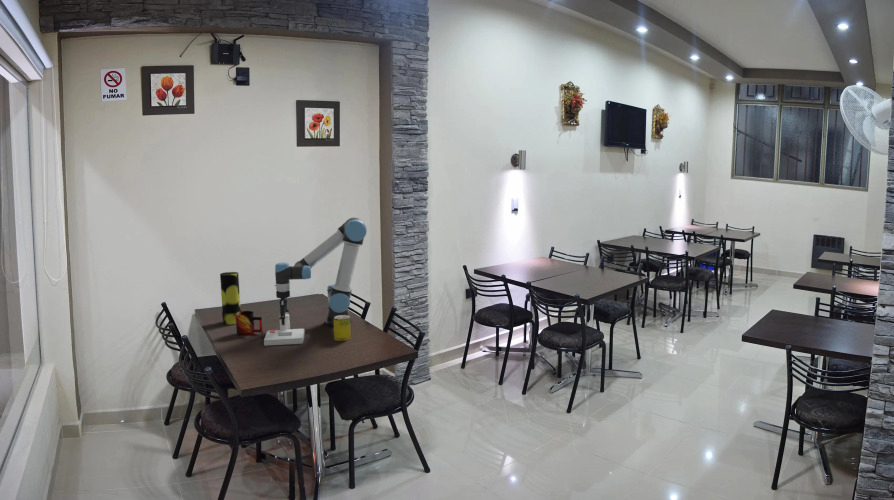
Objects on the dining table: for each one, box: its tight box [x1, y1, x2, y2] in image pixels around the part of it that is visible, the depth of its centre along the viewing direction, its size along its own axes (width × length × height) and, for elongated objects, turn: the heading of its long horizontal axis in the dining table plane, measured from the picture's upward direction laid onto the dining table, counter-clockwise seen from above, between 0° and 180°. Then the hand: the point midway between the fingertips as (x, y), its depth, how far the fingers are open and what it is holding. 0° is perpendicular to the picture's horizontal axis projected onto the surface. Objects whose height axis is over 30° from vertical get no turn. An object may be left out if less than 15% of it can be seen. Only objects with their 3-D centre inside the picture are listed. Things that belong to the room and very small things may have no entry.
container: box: [219, 271, 242, 326], centre depth 370 cm, size 11×11×30 cm
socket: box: [263, 328, 305, 347], centre depth 338 cm, size 20×18×4 cm
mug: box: [235, 310, 263, 337], centre depth 349 cm, size 10×14×12 cm
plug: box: [278, 313, 291, 330], centre depth 351 cm, size 5×4×10 cm
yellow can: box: [333, 315, 352, 342], centre depth 339 cm, size 9×9×12 cm
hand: (284, 326), depth 351 cm, fingers open, 13 cm apart
